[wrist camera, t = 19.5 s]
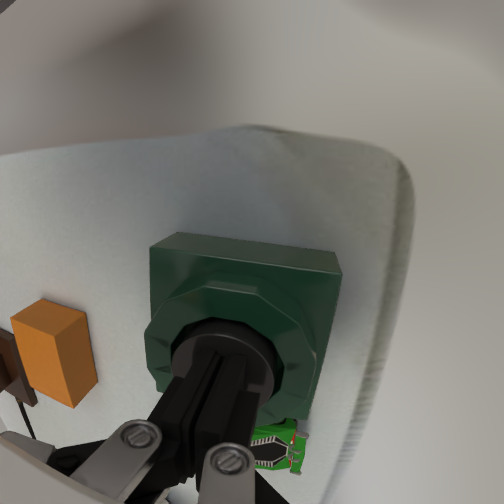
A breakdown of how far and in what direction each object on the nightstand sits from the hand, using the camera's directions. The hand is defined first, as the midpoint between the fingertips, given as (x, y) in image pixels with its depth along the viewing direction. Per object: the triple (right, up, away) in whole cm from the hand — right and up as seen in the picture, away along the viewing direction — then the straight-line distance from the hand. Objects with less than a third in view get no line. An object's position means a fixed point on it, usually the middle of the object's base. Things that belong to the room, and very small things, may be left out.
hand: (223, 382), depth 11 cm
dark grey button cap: (0, +1, +2) cm, 2 cm away
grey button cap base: (+1, +2, +5) cm, 6 cm away
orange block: (-12, -2, +8) cm, 15 cm away
